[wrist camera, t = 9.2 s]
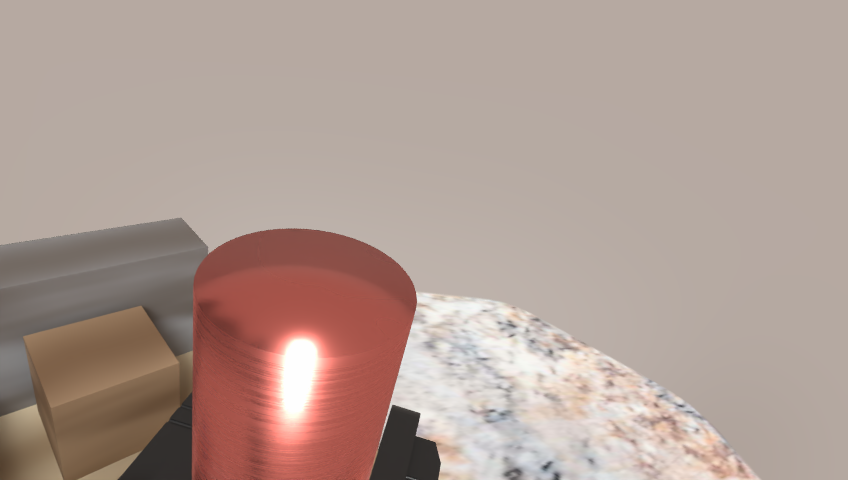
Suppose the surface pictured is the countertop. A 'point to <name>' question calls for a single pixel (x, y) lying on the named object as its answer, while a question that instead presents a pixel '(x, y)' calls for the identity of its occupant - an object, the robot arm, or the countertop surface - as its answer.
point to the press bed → (87, 317)
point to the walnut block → (102, 388)
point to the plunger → (295, 355)
